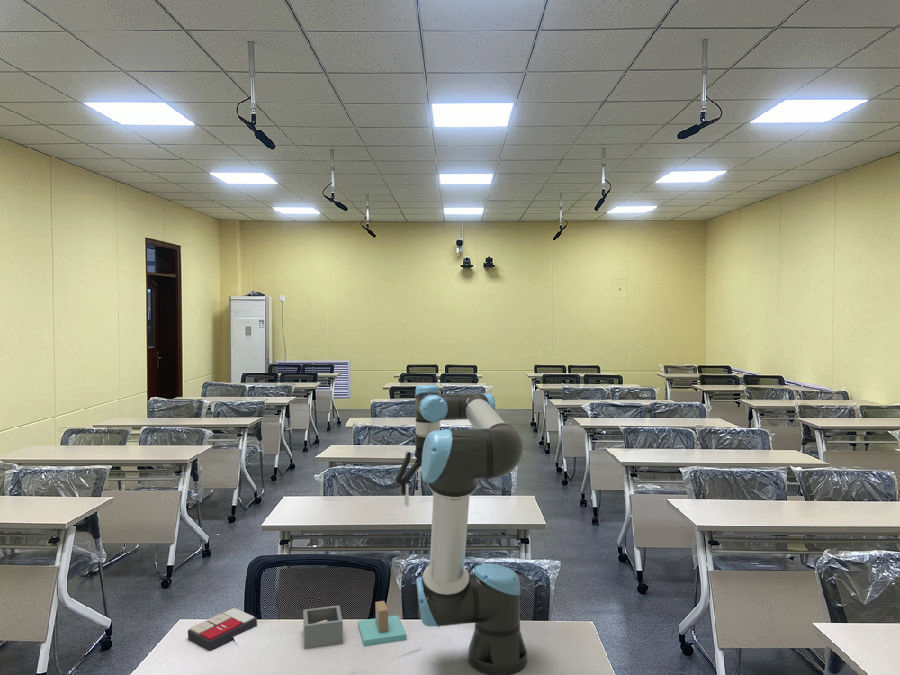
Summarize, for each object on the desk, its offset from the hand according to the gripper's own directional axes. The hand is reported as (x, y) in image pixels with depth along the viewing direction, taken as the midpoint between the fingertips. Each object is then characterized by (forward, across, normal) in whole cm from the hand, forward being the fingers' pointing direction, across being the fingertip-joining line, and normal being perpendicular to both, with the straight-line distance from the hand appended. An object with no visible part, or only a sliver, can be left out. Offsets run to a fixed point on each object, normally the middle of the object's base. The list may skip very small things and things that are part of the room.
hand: (428, 503), depth 187 cm
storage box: (+32, +33, +13) cm, 48 cm away
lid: (+32, +17, +15) cm, 39 cm away
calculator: (+32, +60, +1) cm, 68 cm away
